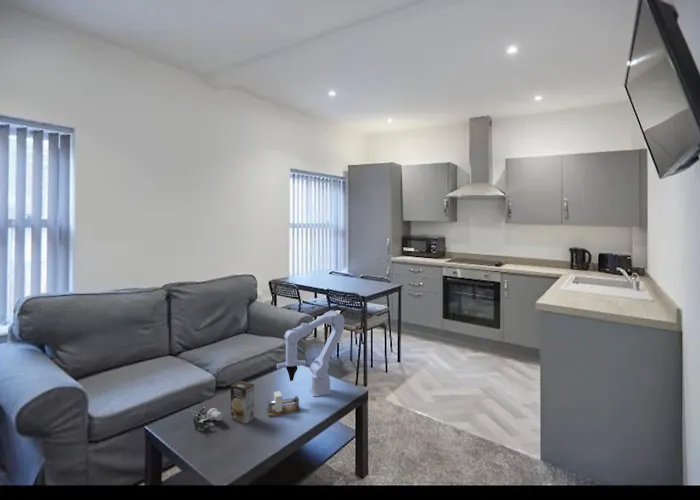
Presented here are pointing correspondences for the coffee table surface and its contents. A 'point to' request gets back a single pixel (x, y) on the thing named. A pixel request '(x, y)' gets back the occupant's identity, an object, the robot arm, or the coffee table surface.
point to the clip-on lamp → (211, 415)
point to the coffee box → (242, 401)
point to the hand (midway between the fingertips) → (291, 380)
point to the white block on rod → (278, 401)
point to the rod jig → (284, 407)
